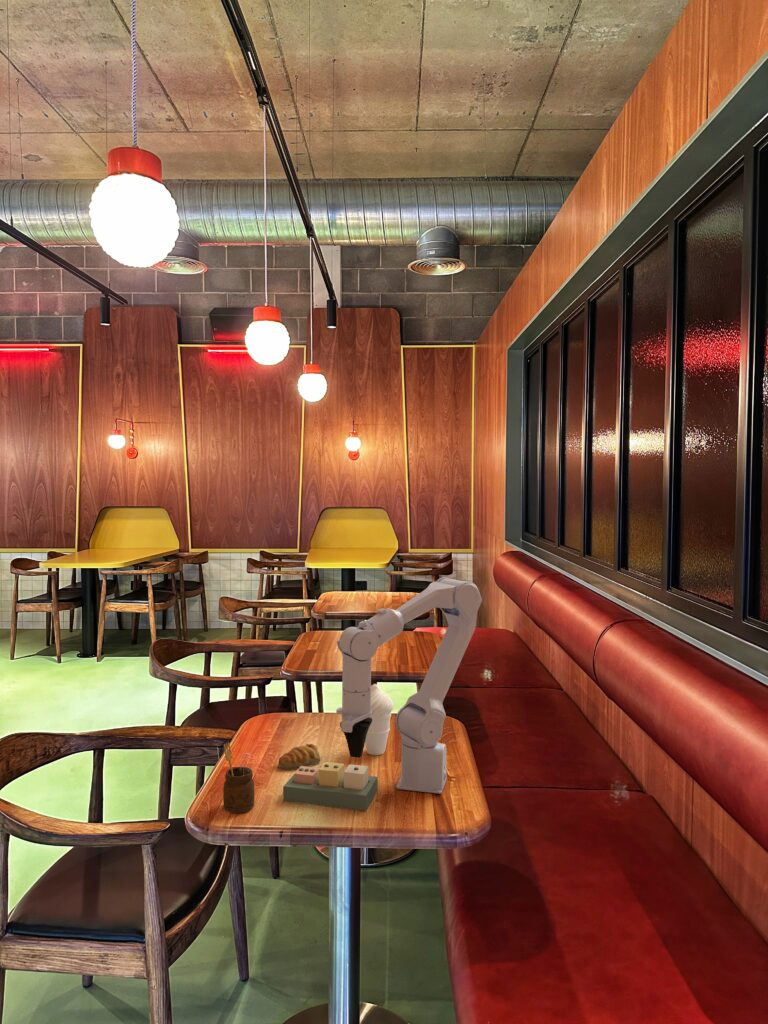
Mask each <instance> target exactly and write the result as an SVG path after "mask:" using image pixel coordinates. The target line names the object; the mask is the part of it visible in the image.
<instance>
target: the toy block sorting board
mask: <svg viewBox="0 0 768 1024" xmlns="http://www.w3.org/2000/svg"><path fill="white" fill-rule="evenodd" d="M378 777H379V776H373V775H368V785H367V787H366V788H365V790H358V789H349V788H344V781H343V782H342V784H341V785H340V786H339V787H331V786H322V785H319V779H318V780H317V781H316V783H315V784H314V785H313V784H304V783H295V782H294V774H292V776H291V777H290V778H289V779H288V781H286V783H285V784H284V785H283V791H282V792H283V793H282V794H283V795H282V796H283V797H282V800H283V802H288V803H296V804H297V803H298V804H304V805H305V804H306V805H313V806H321V807H329V808H337V809H338V808H339V809H346V810H356V811H362V812H363V811H364V812H365V811H367V810H368V809H369V807H370V805H371V804H372V802H373V801H374V798H375V796H376V794H377V793H378V781H379V779H378Z"/></svg>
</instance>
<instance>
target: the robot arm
mask: <svg viewBox="0 0 768 1024" xmlns="http://www.w3.org/2000/svg"><path fill="white" fill-rule="evenodd" d="M482 602H483V598H482V596H481V593H480V590H479V587H478V586H477V585H476V584H475V583H474V582H471V581H463V580H459V579H455V578H450V577H447V576H443V577H441V578H437V580H435V581H433V582H430V584H429V585H428V586H427V588H425V589H423V591H421V592H419V593H418V594H416V595H415V596H413V597H412V598H411V599H409V600H407V601H406V602H405V603H403V604H401V605H400V606H399V607H397V608H396V609H393V608H389V607H387V608H380V609H378V610H377V614H375V615H373V616H372V617H370V618H369V619H367V620H365V621H364V620H362V621H360V622H359V623H358V626H357V627H356V626H349V627H347V628H345V629H344V630H343V631H342V632H341V634H340V636H339V639H338V640H337V641H336V645H337V649H338V650H339V652H341V656H342V657H341V659H342V667H341V668H342V671H341V672H342V680H341V682H342V684H341V685H342V686H341V687H342V690H341V700H342V701H341V705H342V706H341V707H337V709H336V714H338V715H340V716H341V721H340V724H339V725H340V726H339V727H340V732H342V733H343V734H344V737H345V739H346V744H347V747H348V748H347V749H348V752H349V753H348V754H349V757H350V758H358V759H360V758H362V756H363V752H364V748H365V739H366V735H367V732H368V729H369V727H370V725H371V723H372V718H369V717H370V716H371V715H372V710H371V686H372V658H373V657H374V656H375V654H376V652H377V650H378V648H379V647H380V646H383V645H384V644H385V643H387V642H388V641H390V640H391V639H393V638H394V637H397V636H399V635H400V634H401V633H402V632H403V631H404V626H405V625H406V624H407V623H408V622H411V621H412V620H414V619H417V618H418V617H420V616H422V615H424V614H426V613H427V612H429V611H431V610H432V609H433V610H434V609H436V608H437V609H440V610H441V611H442V613H443V614H444V616H445V619H446V621H447V624H448V626H447V629H445V630H446V631H445V633H444V635H443V637H442V639H441V642H440V644H439V646H438V648H437V650H436V652H435V654H434V657H433V659H432V661H431V664H430V666H429V668H428V671H427V673H426V675H425V677H424V679H423V682H422V683H421V686H420V688H419V690H418V691H417V692H416V693H414V694H412V695H410V696H409V697H408V699H407V701H406V703H405V704H404V705H403V706H402V707H401V708H399V710H398V712H397V713H396V716H395V720H394V721H395V727H396V729H397V731H398V732H399V733H400V739H401V751H400V752H401V757H400V758H401V759H400V760H401V762H400V764H401V766H400V768H401V770H400V772H401V773H400V775H401V776H400V778H399V780H398V782H397V784H396V787H395V788H396V789H397V790H405V791H413V792H423V793H432V794H439V795H440V794H442V792H443V791H444V787H445V784H446V782H447V745H446V744H445V743H440V742H439V741H440V740H441V738H442V735H443V731H444V729H443V728H444V722H445V720H446V717H447V715H446V711H445V708H444V705H443V702H444V700H445V697H446V695H447V693H448V691H449V688H450V687H451V684H452V683H453V680H454V677H455V675H456V673H457V670H458V668H459V667H460V664H461V662H462V659H463V657H464V655H465V653H466V650H467V649H468V646H469V643H470V642H471V639H472V638H473V637H472V636H473V634H474V632H475V630H476V627H477V618H478V611H479V608H480V606H481V604H482Z"/></svg>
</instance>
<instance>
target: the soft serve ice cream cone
mask: <svg viewBox="0 0 768 1024" xmlns="http://www.w3.org/2000/svg"><path fill="white" fill-rule="evenodd" d="M394 705H395V704H394V701H393V700H392V699H391V697H390V696H389V695H388V694H387V693H386V692H384V690H382V689H381V688H380V687H379V686H378V684H377V683H373V684H371V710H372V715H371V716H370V717H369V718H372V723H371V725H370V727H369V729H368V732H367V735H366V739H365V744H364V746H365V749H366V753H367V754H368V755H370V756H380V755H383V754H385V752H386V747H387V743H388V737H389V732H390V731H391V727H390V726H391V724H390V723H391V717H392V711H393V710H394Z"/></svg>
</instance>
